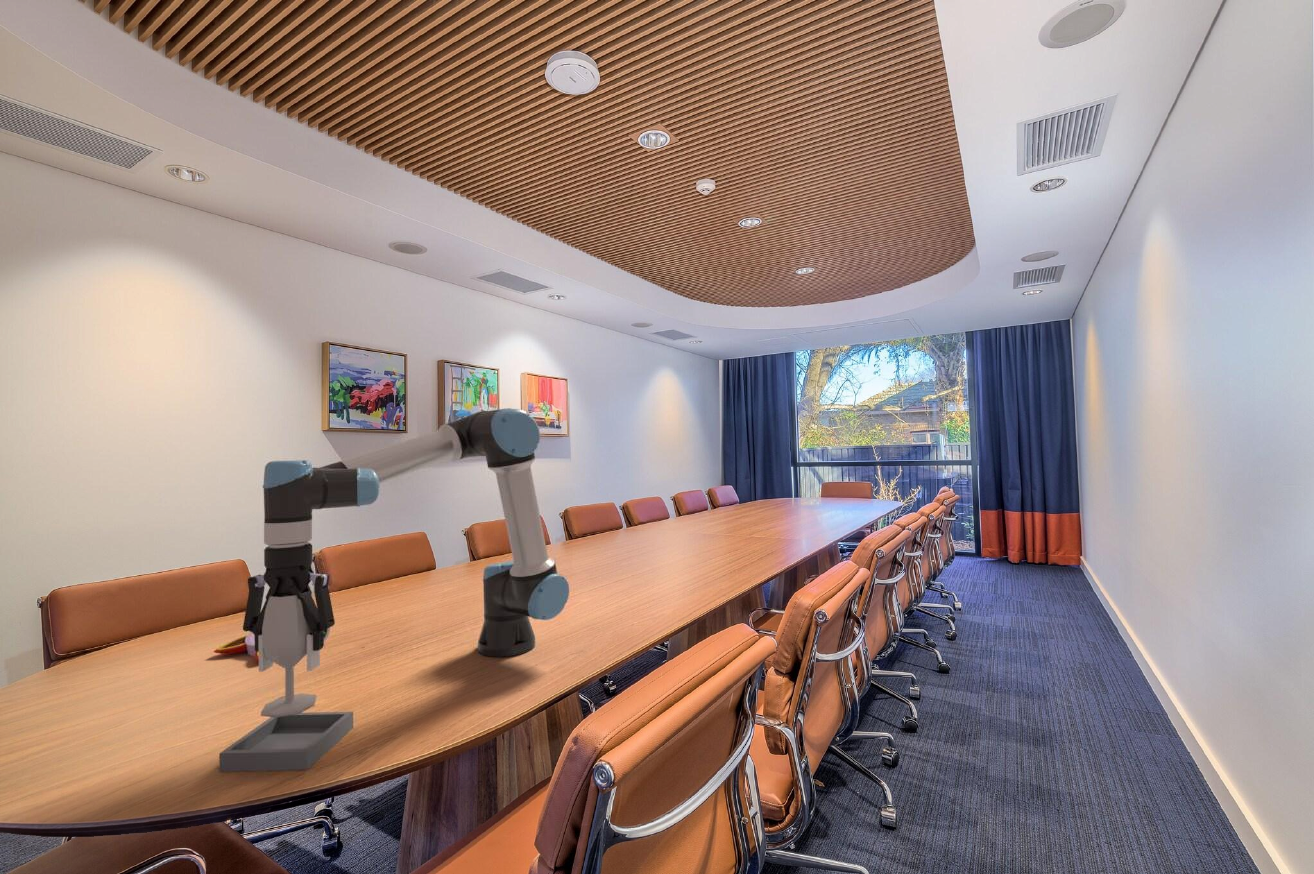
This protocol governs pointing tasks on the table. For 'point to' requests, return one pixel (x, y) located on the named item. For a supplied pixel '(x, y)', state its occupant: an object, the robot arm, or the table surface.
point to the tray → (287, 742)
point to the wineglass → (286, 651)
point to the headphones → (247, 645)
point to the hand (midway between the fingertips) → (289, 668)
